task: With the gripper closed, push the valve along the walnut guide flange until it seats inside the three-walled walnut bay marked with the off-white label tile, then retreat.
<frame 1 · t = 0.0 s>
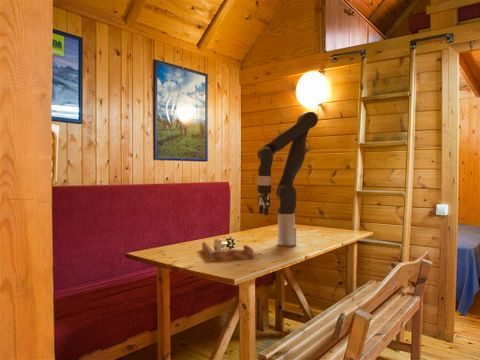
hand: (263, 214, 201), 17 cm above the table, tool pointing down, fingers open, 8 cm apart
rack: (229, 256, 176), on the table
valve: (223, 251, 190), on the table
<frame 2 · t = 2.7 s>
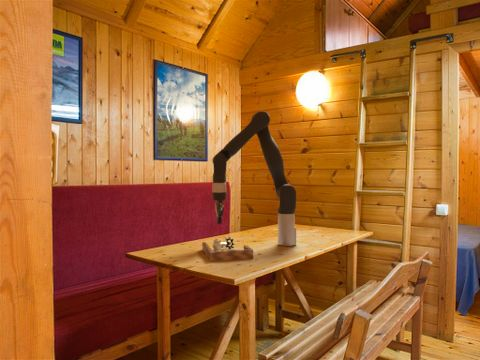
hand: (219, 223, 198), 13 cm above the table, tool pointing down, fingers closed
nothing on the table moved.
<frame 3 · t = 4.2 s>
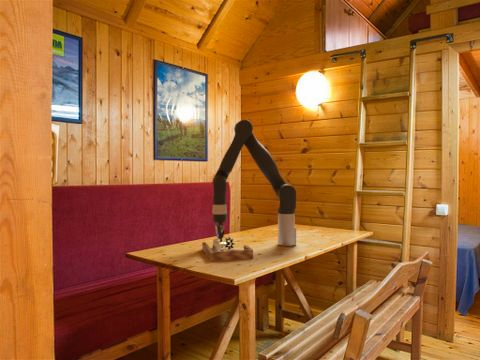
hand: (219, 245, 198), 1 cm above the table, tool pointing down, fingers closed
nothing on the table moved.
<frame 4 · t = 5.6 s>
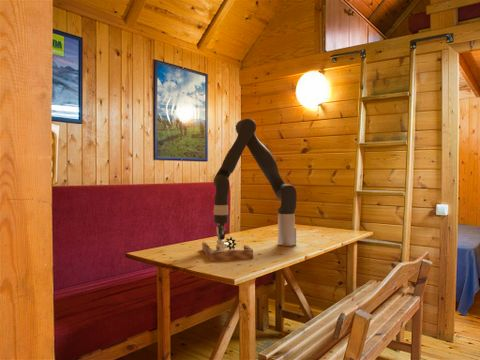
hand: (220, 246, 192), 1 cm above the table, tool pointing down, fingers closed
valve: (224, 252, 187), on the table, touching gripper, hand
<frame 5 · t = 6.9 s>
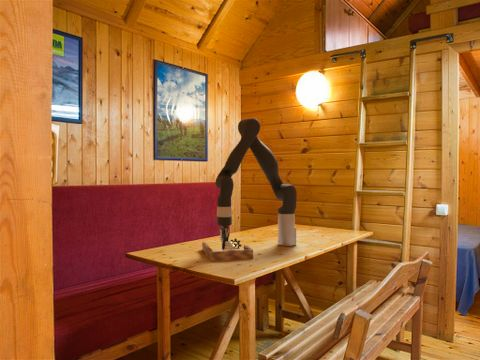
hand: (224, 250, 185), 1 cm above the table, tool pointing down, fingers closed
valve: (231, 254, 182), on the table
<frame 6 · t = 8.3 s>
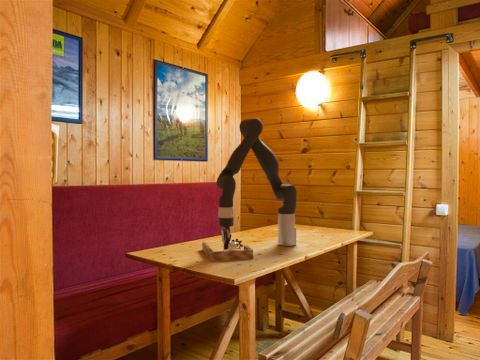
hand: (226, 251, 182), 1 cm above the table, tool pointing down, fingers closed
valve: (233, 254, 181), on the table, touching gripper, hand
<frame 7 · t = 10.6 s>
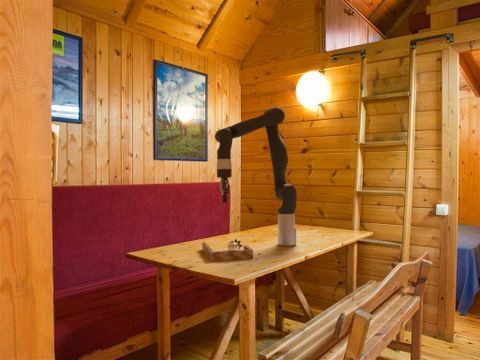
hand: (224, 202, 188), 25 cm above the table, tool pointing down, fingers closed
valve: (233, 255, 181), on the table
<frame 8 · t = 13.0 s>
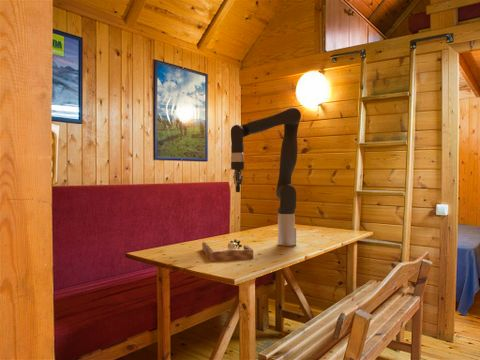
hand: (237, 192, 208), 29 cm above the table, tool pointing down, fingers closed
nothing on the table moved.
at the end: valve inside the target area (5.3 cm from its centre), on the table; valve moved 10.4 cm from its start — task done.
